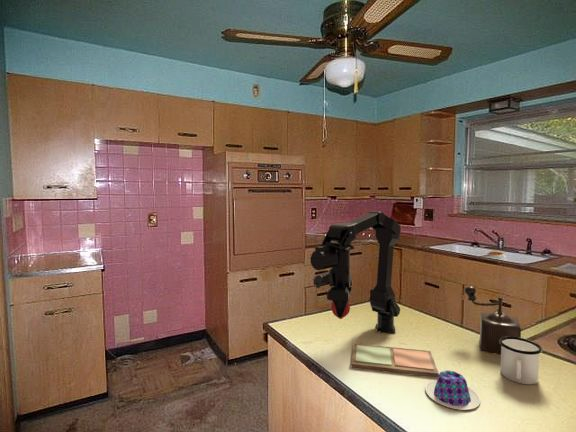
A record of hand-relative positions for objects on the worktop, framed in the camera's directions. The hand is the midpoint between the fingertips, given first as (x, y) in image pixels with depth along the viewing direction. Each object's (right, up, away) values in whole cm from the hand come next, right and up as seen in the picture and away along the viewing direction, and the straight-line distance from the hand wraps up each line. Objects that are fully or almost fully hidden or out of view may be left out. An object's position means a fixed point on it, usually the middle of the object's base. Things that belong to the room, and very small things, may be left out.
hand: (340, 313), depth 104 cm
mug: (+45, -13, -16) cm, 49 cm away
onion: (0, -2, 0) cm, 2 cm away
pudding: (+24, -14, -23) cm, 36 cm away
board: (+14, -12, -6) cm, 20 cm away
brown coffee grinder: (+48, -11, +3) cm, 50 cm away
